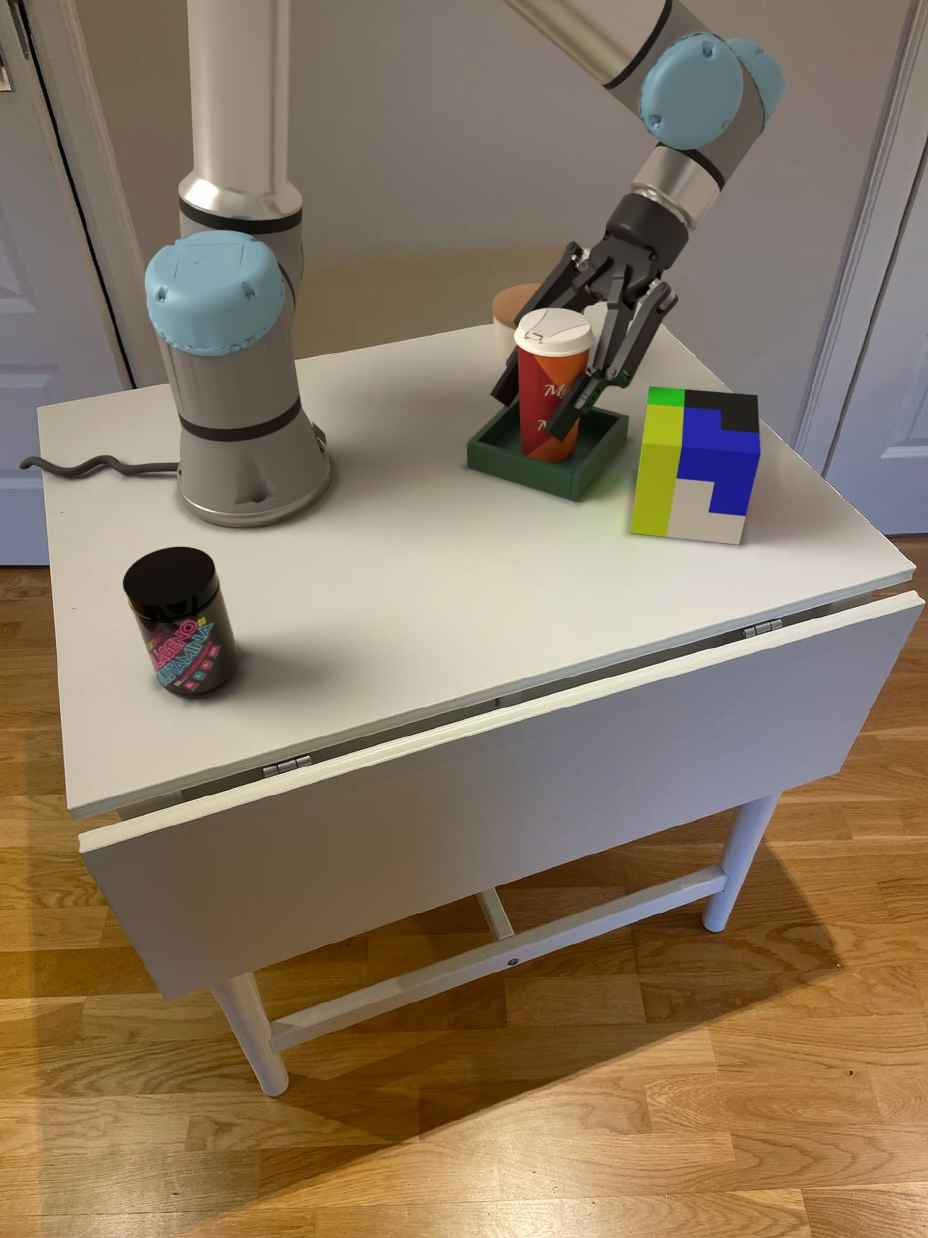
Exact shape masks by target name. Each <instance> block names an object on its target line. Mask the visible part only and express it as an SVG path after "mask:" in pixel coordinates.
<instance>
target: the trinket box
mask: <svg viewBox="0 0 928 1238" xmlns="http://www.w3.org/2000/svg"><path fill="white" fill-rule="evenodd" d="M541 285H542V283H540V282H539V283H535V282H534V283H525V284H524V283H523V284H519V285H515V286H510V287H508V288H506V289H504V290H501V291H500V292H499V293H497V294H496V296H495V297H494V298H493V300H492V304H491V307H492V308H491V311H492V315H493V317H492V321H493V333H494V338H495V342H496V346H497V349H498V351H499V352H500V354H501V355H502V358H503V359H505V360H506V361H507V359H508V358H509V356H510V355H511V353H512V352H513V350H514V348H515V347H516V345H517V343H516V341H515V339H514V334H515V331H516V330H517V328H518V327H517V326H516V325H515V324H514V319H515V317H516V316H517V314H518V313H519V312H520V311H521V309H522V308H523V307H524V306H525V304H526V303H527V302H528V301H529V300H530V298H531V297H532V296H533V295H534V293H535V292H536V291H537V290H538V288H539V287H540V286H541ZM585 309H586V308H585ZM585 309H584V310H583V311H582V312H580V314H582V315H583V316H585V311H586V310H585Z"/></svg>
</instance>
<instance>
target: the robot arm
mask: <svg viewBox="0 0 928 1238" xmlns="http://www.w3.org/2000/svg"><path fill="white" fill-rule="evenodd" d="M292 1H293V0H186V2H187V4H186V5H187V7H186V9H187V29H188V52H189V77H190V78H189V79H190V80H189V81H190V100H191V123H192V125H191V126H192V127H191V128H192V149H193V150H192V151H193V169H192V171H191V172H189V173H188V175H186V176H185V177H184V178H183V179H182V180H181V181H180V183H179V184H178V190H177V191H178V210H179V211H178V212H179V227H180V228H179V229H180V230H179V231H180V237H179V238H178V239H176V240H175V241H174V244H173V245H169V244H168V245H165V246H163V247H162V248H160V249H159V250H158V251H157V253H155V255H154V256H153V257H152V259H151V260H150V261H149V263H148V265H147V267H146V269H145V270H146V271H145V275H144V290H145V294H146V308H147V311H148V316H149V317H148V318H149V321H150V322H151V324H152V327H153V328H154V331H155V334H156V338H157V342H158V345H159V350H160V353H161V357H162V360H163V361H162V362H163V364H164V368H165V371H166V375H167V377H168V379H167V380H168V383H169V386H170V389H171V393H172V398H173V401H174V403H175V408H176V412H177V415H178V418H179V423H180V427H181V430H180V431H181V432H180V440H179V441H180V443H179V457H180V459H179V462H149V463H139V464H124V463H121V461H119V459H117V458H116V457H115V456H113V455H110V454H102V455H97V456H94V457H91V458H89V459H88V460H86V461H85V462H82V463H81V464H78V465H76V466H71V467H64V466H59V465H57V464H54V463H52V462H50V461H49V460H47V459H44V458H43V457H39V456H36V455H31V456H27V457H25V459H23V460H22V461H21V462H20V464H19V466H18V468H19V469H20V470H28V469H30V468H32V466H36V467H39V468H40V469H42V470H45V471H46V472H48V473H50V474H53V475H55V476H58V477H65V478H71V477H77V476H81V475H83V474H85V473H87V472H89V471H91V470H93V469H94V468H96V467H99V466H102V465H109V466H110V467H111V468H112V469H113V470H115V471H116V472H118V473H120V474H124V475H138V474H147V473H165V472H166V473H168V472H169V473H170V472H171V473H174V472H177V473H176V475H177V476H176V483H177V487H178V491H179V495H180V498H181V500H182V503H183V505H184V506H185V508H186V509H187V510H188V511H189V512H190V513H191V514H193V516H195V517H197V518H198V519H200V520H203V521H204V522H206V523H207V522H208V523H211V524H214V525H218V526H223V527H231V528H251V527H253V528H254V527H261V526H267V525H272V524H275V523H279V522H282V521H286V520H288V519H291V518H293V517H295V516H297V515H299V514H301V513H303V512H305V511H307V510H308V509H309V508H311V507H313V506H314V505H315V504H316V503H317V502H318V501H319V500H321V499H322V497H323V496H324V495H325V493H326V492H327V490H328V489H329V486H330V483H331V478H332V477H331V475H332V472H331V466H330V460H329V455H328V453H327V451H326V448H325V446H326V447H328V445H327V437H326V433H325V432H324V431H323V430H322V429H321V428H320V427H319V426H318V425H317V424H316V423H315V422H314V421H311V420H310V419H309V417H308V416H307V414H306V412H305V410H304V408H303V405H302V399H301V393H300V387H299V380H298V373H297V367H296V361H295V355H294V349H293V337H292V335H293V328H294V327H293V326H294V319H295V314H296V308H297V302H298V296H299V292H300V286H301V282H302V280H303V277H304V272H305V249H304V246H303V242H304V241H303V237H302V235H303V203H304V201H303V196H302V194H301V192H300V191H298V190H297V187H295V186H294V185H293V184H292V182H291V181H290V180H289V177H288V170H289V168H288V166H289V127H290V126H289V125H290V124H289V121H290V84H291V83H290V81H291V41H292V39H291V37H292V5H293V4H292ZM500 2H502V3H503V4H504V5H506V6H507V7H508V8H509V9H510V10H512V11H513V12H514V13H515V14H516V15H518V16H519V17H520V18H521V19H522V20H523V21H525V22H526V23H527V24H528V25H530V26H531V27H532V28H533V29H534V30H536V32H538V33H539V34H540V35H541V36H542V37H543V38H545V39H546V41H549V43H551V44H552V45H553V46H554V47H556V49H558V50H559V51H560V52H561V53H562V54H564V55H565V56H566V57H567V58H568V59H570V60H571V61H572V62H573V63H575V64H576V65H577V66H578V67H579V68H580V69H581V70H583V71H584V72H585V73H587V74H588V75H589V76H590V77H591V78H592V79H594V80H595V82H596V83H598V84H600V85H601V86H602V87H603V88H604V90H605V91H607V92H608V93H609V95H611V96H613V98H615V99H616V100H617V101H618V102H619V103H620V104H622V105H623V106H624V107H625V108H627V109H628V110H629V111H630V112H631V113H632V114H634V115H635V116H636V117H637V118H638V119H639V120H640V121H641V122H642V123H643V127H644V128H645V130H646V131H647V132H648V133H649V134H650V135H651V136H653V137H654V138H655V139H657V140H658V142H657V144H656V145H655V146H654V149H653V151H652V152H651V153H650V155H649V157H648V158H647V159H646V161H645V163H644V164H643V166H642V167H641V169H640V170H639V171H638V173H637V174H636V176H635V178H634V179H633V180H632V182H631V183H630V191H631V192H629V193H626V194H624V195H623V196H622V198H621V200H620V201H619V202H618V204H617V205H616V207H615V209H614V210H613V212H612V214H610V216H609V218H608V220H607V221H606V224H605V231H604V235H603V237H602V238H601V240H600V241H599V242H597V243H596V244H595V245H594V246H592V248H588V247H583V246H580V244H579V243H578V242H577V241H575V240H572V241H570V242H569V243H568V244H567V245H566V247H565V250H564V252H563V254H562V256H561V259H560V260H559V262H558V263H557V265H556V266H555V267H554V268H553V269H552V271H551V272H550V274H548V276H547V277H546V278H545V280H543V282H542V283H541V284H542V285H541V286H540V287H539V288H538V290H537V291H536V292H535V293H534V295H533V296H532V297H531V298H530V300H529V301H528V302H527V303H526V304H525V306H524V307H523V308H522V309H521V311H520V312H519V313H518V314H517V316H516V317H515V319H514V324H515V325H516V326H517V327H519V323H520V321H521V319H522V318H523V317H524V316H525V315H526V314H528V313H530V312H532V311H535V310H539V309H544V308H561V309H568V310H572V311H575V312H577V313H580V312H582V311H583V310H584V309H586V308H588V307H593V306H595V305H597V304H598V303H599V302H600V301H601V302H602V303H603V302H605V303H606V308H607V311H606V315H605V318H604V321H603V325H602V329H601V332H600V336H599V340H598V342H597V347H596V349H595V353H594V357H593V360H592V363H591V367H588V366H587V371H586V373H585V372H583V371H581V373H580V374H579V376H578V377H577V379H576V380H575V382H574V383H573V385H572V386H571V388H570V389H569V391H568V393H567V394H566V396H565V397H564V399H563V400H562V402H561V403H560V405H559V406H558V408H557V409H556V411H555V412H554V414H553V415H552V417H551V418H550V420H549V421H548V423H547V424H546V426H545V427H544V430H545V431H546V432H548V433H549V434H550V435H552V436H553V437H555V438H556V439H557V440H559V441H561V442H563V441H564V439H565V438H566V436H567V435H568V433H569V432H570V430H571V429H572V427H573V426H574V424H575V423H576V421H577V420H578V418H579V417H580V415H581V414H582V413H583V414H585V415H586V414H587V413H588V412H589V411H590V410H591V409H592V407H593V406H594V407H595V404H596V403H597V401H598V400H599V398H600V397H601V396H602V394H603V393H604V391H605V390H606V389H607V388H609V387H619V388H620V389H624V390H625V389H627V388H629V387H630V385H631V383H632V380H633V379H634V377H635V375H636V373H637V371H638V369H639V367H640V365H641V363H642V361H643V359H644V357H645V356H646V353H647V352H648V349H649V347H650V345H651V344H652V342H653V340H654V338H655V336H656V334H657V332H658V330H659V328H660V326H661V325H662V323H663V320H664V318H665V317H666V316H667V315H668V314H669V313H670V311H672V309H674V307H675V306H676V305H677V304H678V302H679V300H680V299H679V298H680V297H679V296H678V294H677V293H676V292H675V290H674V289H673V288H672V286H671V285H670V284H669V283H668V282H667V281H662V278H663V274H664V271H668V270H670V269H671V268H672V267H673V265H674V264H675V262H676V261H677V259H678V258H679V256H680V254H681V253H682V251H683V250H684V249H685V247H686V245H687V244H688V243H689V241H690V235H689V233H691V232H694V231H696V230H697V229H698V227H699V225H701V222H702V221H703V219H704V218H705V216H706V215H707V213H708V212H709V210H710V209H711V207H712V206H713V204H714V203H715V202H716V199H717V198H718V197H719V195H720V194H721V192H722V191H723V189H724V188H725V186H726V185H727V183H728V182H729V180H730V179H731V177H732V175H734V172H736V170H737V168H738V167H739V165H740V164H741V163H742V161H743V159H744V158H745V157H746V155H747V154H748V153H749V151H750V149H751V148H752V147H753V145H754V144H755V142H756V141H757V140H758V139H759V138H760V137H761V135H762V134H763V133H764V131H765V130H766V128H767V125H768V123H769V121H770V120H771V118H772V116H773V114H774V113H775V111H776V110H777V109H778V105H779V103H780V102H781V100H782V98H783V96H784V93H785V91H786V87H787V86H786V85H787V84H786V83H787V82H786V76H785V72H784V70H783V68H782V66H781V64H780V63H779V62H778V60H777V59H776V58H775V57H774V56H773V55H772V54H771V53H770V52H769V51H765V50H763V49H762V48H761V47H760V46H759V44H757V43H756V42H754V41H751V40H749V39H745V38H738V37H734V38H730V39H728V40H724V38H722V37H721V36H719V35H718V34H716V33H714V32H713V31H712V30H710V29H709V28H708V27H707V26H706V24H704V23H703V22H702V21H701V20H700V19H699V18H697V16H695V15H694V14H693V13H692V12H691V10H689V9H688V8H687V7H686V6H685V5H684V4H683V3H682V2H681V1H679V0H500ZM645 296H646V297H645ZM643 297H645V299H644V300H643V302H642V304H641V305H640V307H639V309H638V311H637V308H638V305H639V301H640V299H642V298H643ZM584 311H585V310H584ZM636 312H637V313H636ZM631 321H632V323H631V325H630V322H631ZM629 326H630V327H629ZM505 366H506V368H505V370H504V371H503V373H502V374H501V376H500V378H499V379H498V381H497V382H496V384H495V385H494V386H493V388H492V390H491V391H490V393H489V396H491V397H492V398H493V399H494V400H496V401H497V402H499V403H500V404H502V405H503V406H506V407H508V408H509V406H510V405H511V403H512V402H513V400H514V399H515V397H516V396H517V394H518V393H519V371H518V344H517V345H516V347H515V348H514V350H513V352H512V353H511V355H510V356H509V358H508V359H507V360H506V362H505ZM323 444H324V445H323ZM43 468H44V469H43Z"/></svg>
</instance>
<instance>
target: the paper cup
mask: <svg viewBox="0 0 928 1238" xmlns="http://www.w3.org/2000/svg"><path fill="white" fill-rule="evenodd" d="M514 339H515V341H516V343H517V344H518V371H519V402H520V429H521V445H522V451H523V453H524V454H525V455H526V456H529V457H532V458H535V459H539V460H542V461H545V462H549V463H555V462H560V461H563V460H565V459H567V458H569V457H570V456H571V455H572V453H573V451H574V447H575V442H576V436H577V430H578V424H579V418H578V420H577V421H576V423H575V424H574V426H573V427H572V429H571V430H570V432H569V433H568V435H567V436H566V438H565V439H564V441H563V442H561V441H559V440H557V439H556V438H555V437H553V436H552V435H550V434H549V433H548V432H546V431H545V430H544V427H545V426H546V424H547V423H548V421H549V420H550V418H551V417H552V415H553V414H554V412H555V411H556V409H557V408H558V406H559V405H560V403H561V402H562V400H563V399H564V397H565V396H566V394H567V393H568V391H569V389H570V388H571V386H572V385H573V383H574V382H575V380H576V379H577V377H578V376H579V374H580V373H581V371H583V372H585V373H586V374H587V367H588V364H589V359H590V358H589V357H590V350H591V347H592V346H593V344H594V343H595V339H596V337H595V333H594V330H593V329H592V325H591V323H590V321H589V319H588V318H587V317H586V316H585V315H582V314H580V313H577V312H575V311H572V310H568V309H561V308H544V309H539V310H535V311H532V312H530V313H528V314H526V315H525V316H524V317H523V318H522V319H521V321H520V323H519V327H518V328H517V330H516V331H515V334H514Z"/></svg>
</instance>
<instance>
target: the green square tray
mask: <svg viewBox="0 0 928 1238" xmlns="http://www.w3.org/2000/svg"><path fill="white" fill-rule="evenodd" d="M629 423H630V415H627V414H624V413H620V412H616V411H612V410H608V409H606V408H602V407H597V406H595V405H594V406H593V407H592V409H591V410H590V411H589V412H588V413H587V414H586V415H585V414H583V413H582V414H581V415H580V417H579V424H578V430H577V436H576V442H575V447H574V451H573V453H572V455H571V456H570V457H569V458H567V459H565V460H563V461H560V462H555V463H549V462H545V461H542V460H539V459H535V458H532V457H529V456H526V455H525V454H524V453H523V451H522V445H521V429H520V402H519V393H518V394H517V396H516V397H515V399H514V400H513V402H512V403H511V405H510V406H509V408H508V407H506V406H505V405H503V407H502V408H500V410H499V411H497V413H496V414H494V415H493V417H491V419H490V420H489V421H488V422H486V423H485V424H484V425H483V426H482V427H481V428H480V429H479V430H478V431H477V432H476V433H475V434H474V435H473V436H472V437H471V438H470V439H469V440H468V441H467V442H466V465H467V469H470V470H473V471H475V472H479V473H482V474H486V475H488V476H493V477H496V478H498V479H502V480H505V481H508V482H512V483H514V484H518V485H521V486H524V487H527V488H531V489H534V490H537V491H539V492H542V493H547V494H550V495H553V496H556V497H559V498H562V499H566V500H569V501H572V502H575V503H578V502H579V501H580V500H581V498H582V497H583V496H584V494H585V493H586V492H587V490H588V489H589V488H590V487H591V486H592V485H593V483H594V482H595V481H596V479H598V477H599V476H600V474H601V473H602V472H603V471H604V470H605V468H607V466H608V464H610V462H611V461H612V460H613V458H614V457H615V456H616V455H617V453H618V452H619V451H620V450H621V448H622V447H623V446H624V445H625V444H626V442H627V439H628V432H629Z"/></svg>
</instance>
